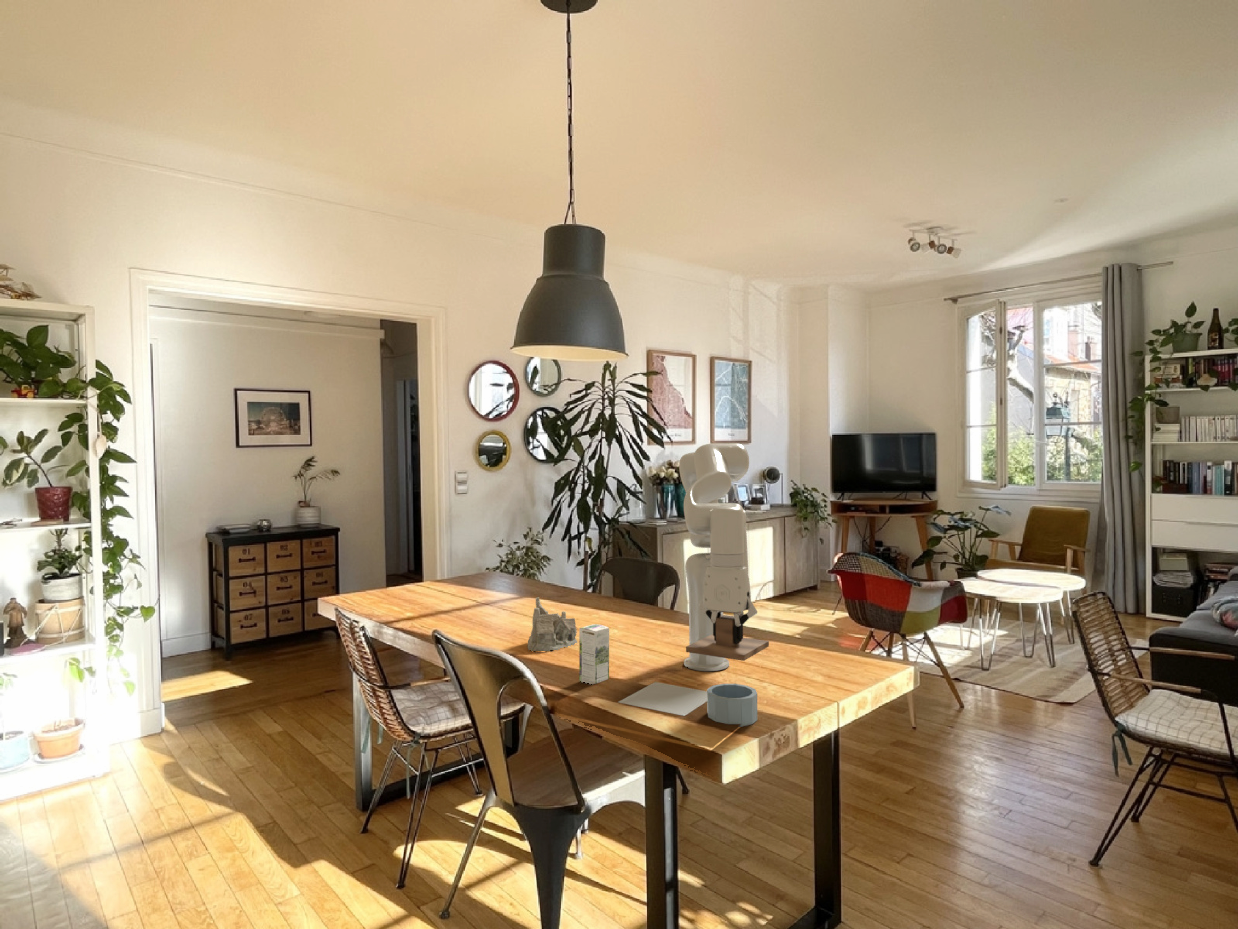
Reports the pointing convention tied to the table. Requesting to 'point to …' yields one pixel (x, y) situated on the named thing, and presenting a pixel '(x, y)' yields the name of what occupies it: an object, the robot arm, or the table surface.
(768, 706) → the table surface
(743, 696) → the slate bowl
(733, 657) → the walnut lid
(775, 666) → the table surface
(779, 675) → the table surface
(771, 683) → the table surface
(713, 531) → the robot arm
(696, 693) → the grey mat
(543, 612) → the ceramic cottage
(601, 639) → the syrup box
